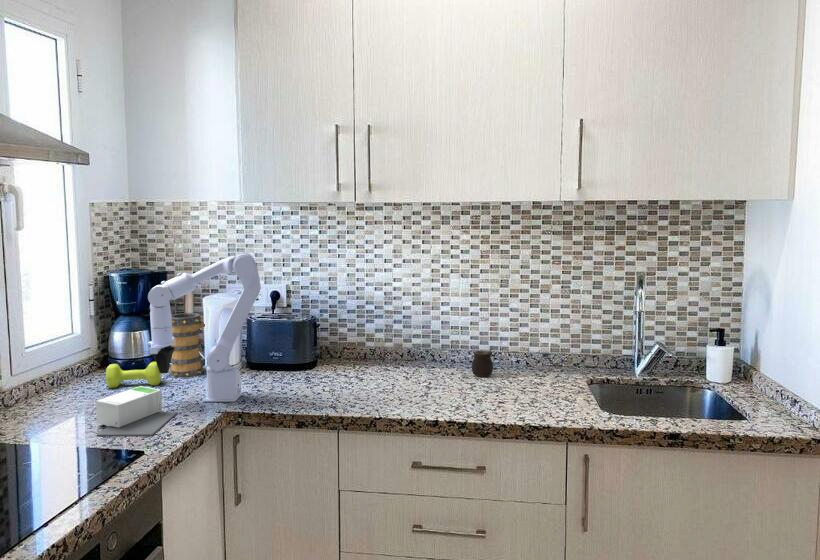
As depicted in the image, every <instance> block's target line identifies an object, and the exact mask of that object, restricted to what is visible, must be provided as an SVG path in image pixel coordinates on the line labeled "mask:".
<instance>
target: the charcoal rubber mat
mask: <svg viewBox="0 0 820 560" xmlns="http://www.w3.org/2000/svg"><path fill="white" fill-rule="evenodd" d="M177 414H178V411H160V412H157V413H155V414H152V415H150V416H147V417H144V418H142V419H139V420H137V421H134V422H132V423H129V424H127V425H124V426H122V427H119V428H117V427H112V426H106V427H105V428H104V429H102V430H101V431H100V432H98V433H97V434H96V437H150V436H151V437H152V436H153V435H155V434H156V433H157V432H159V430H160V429H162V428H163V427H164V426H165V425H166V424H167V423H168V422H170V420H172V419H173V418H174V417H175V416H177Z"/></svg>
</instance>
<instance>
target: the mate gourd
mask: <svg viewBox="0 0 820 560" xmlns="http://www.w3.org/2000/svg"><path fill="white" fill-rule="evenodd" d="M493 349H494V347H492V348H491V349H490V350H484V349H483V350H482V349H481V350H475V351H473V360H472V362H471V371H472V374H473V375H474V376H475V377H478V378H488V377H489V376H490V375H492V374H493V371H494V362H493V360H492V358H491V357H492V353H491V351H492V350H493Z"/></svg>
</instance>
